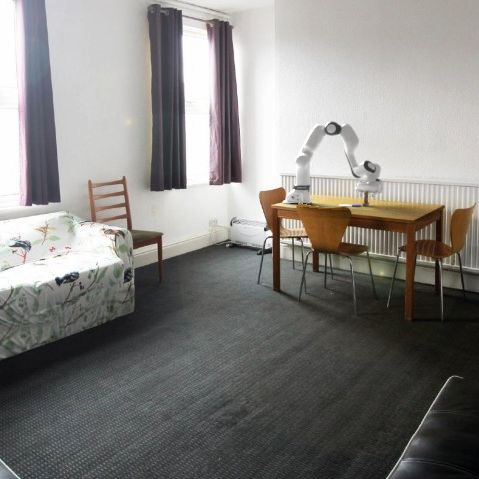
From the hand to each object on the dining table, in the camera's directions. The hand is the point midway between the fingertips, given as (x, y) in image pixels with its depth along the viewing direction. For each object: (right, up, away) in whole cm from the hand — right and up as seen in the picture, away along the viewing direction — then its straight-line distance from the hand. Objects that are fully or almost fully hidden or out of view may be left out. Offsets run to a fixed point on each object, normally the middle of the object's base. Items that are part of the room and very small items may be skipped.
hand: (366, 196), depth 432 cm
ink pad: (-8, -7, +1) cm, 11 cm away
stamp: (0, -7, +1) cm, 7 cm away
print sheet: (-15, -7, +4) cm, 17 cm away
